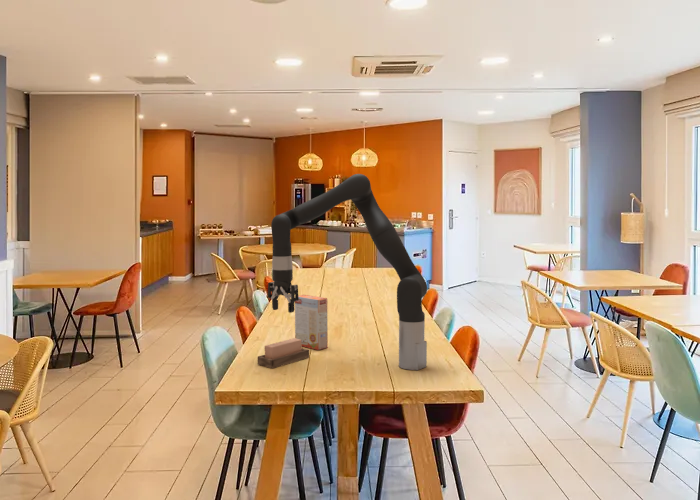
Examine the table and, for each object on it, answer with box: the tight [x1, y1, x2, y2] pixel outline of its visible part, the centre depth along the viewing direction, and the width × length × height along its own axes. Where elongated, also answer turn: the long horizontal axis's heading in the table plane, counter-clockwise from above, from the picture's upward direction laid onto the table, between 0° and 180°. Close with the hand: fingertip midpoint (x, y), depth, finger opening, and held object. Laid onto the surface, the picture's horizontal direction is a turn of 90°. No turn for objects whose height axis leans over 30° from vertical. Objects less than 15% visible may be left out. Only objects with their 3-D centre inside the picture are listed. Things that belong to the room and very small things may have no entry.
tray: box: [257, 347, 310, 369], centre depth 219 cm, size 8×19×3 cm, turn 140°
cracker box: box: [294, 294, 329, 351], centre depth 239 cm, size 14×6×21 cm, turn 47°
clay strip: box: [264, 337, 303, 359], centre depth 219 cm, size 15×4×6 cm, turn 139°
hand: (283, 311), depth 217 cm, fingers open, 8 cm apart
